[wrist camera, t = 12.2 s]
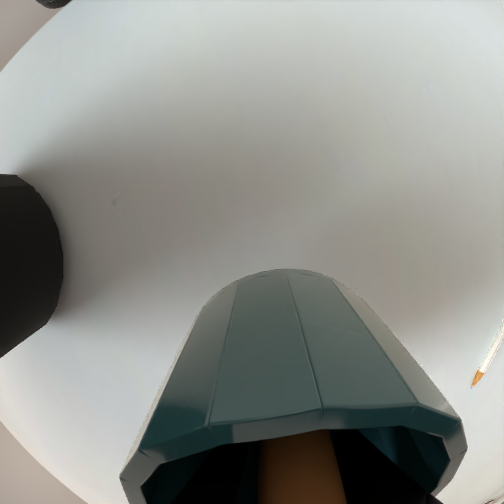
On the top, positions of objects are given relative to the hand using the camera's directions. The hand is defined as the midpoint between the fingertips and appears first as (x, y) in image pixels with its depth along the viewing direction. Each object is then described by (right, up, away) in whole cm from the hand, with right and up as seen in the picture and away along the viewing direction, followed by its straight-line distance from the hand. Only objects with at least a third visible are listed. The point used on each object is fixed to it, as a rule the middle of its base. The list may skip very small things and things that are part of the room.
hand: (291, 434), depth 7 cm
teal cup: (0, +1, +4) cm, 4 cm away
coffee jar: (-17, +5, +8) cm, 20 cm away
